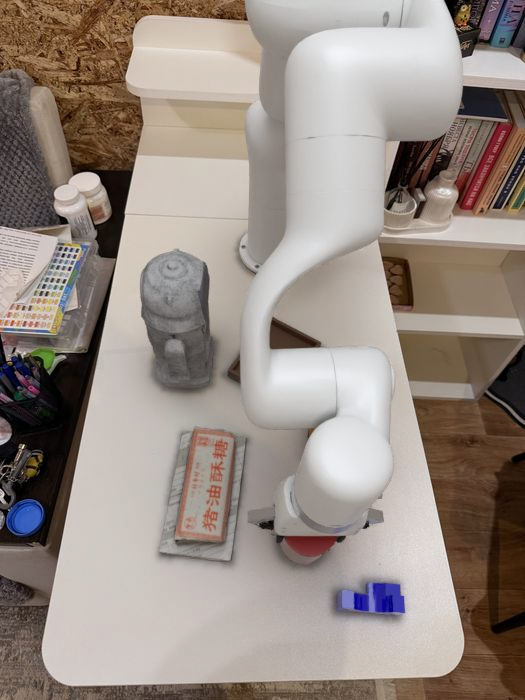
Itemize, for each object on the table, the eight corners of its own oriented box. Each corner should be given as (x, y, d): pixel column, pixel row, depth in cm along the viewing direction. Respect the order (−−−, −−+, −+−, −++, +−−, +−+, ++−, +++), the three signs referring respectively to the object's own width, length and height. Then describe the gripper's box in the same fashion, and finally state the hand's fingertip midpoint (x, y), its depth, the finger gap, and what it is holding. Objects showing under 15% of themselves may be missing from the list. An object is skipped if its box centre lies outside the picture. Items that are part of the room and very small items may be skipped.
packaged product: (180, 420, 76) (247, 428, 76) (183, 432, 80) (246, 440, 80) (154, 548, 66) (230, 557, 66) (159, 554, 71) (231, 562, 71)
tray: (267, 321, 92) (268, 314, 90) (319, 348, 89) (321, 342, 87) (227, 376, 85) (227, 370, 84) (282, 407, 83) (283, 401, 81)
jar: (293, 508, 75) (300, 490, 66) (332, 532, 73) (344, 516, 65) (271, 548, 72) (276, 534, 64) (311, 573, 70) (321, 562, 62)
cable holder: (395, 586, 70) (403, 583, 66) (396, 615, 68) (405, 613, 65) (337, 581, 70) (342, 577, 66) (336, 609, 68) (342, 607, 65)
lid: (297, 489, 68) (299, 485, 66) (346, 517, 66) (349, 514, 65) (271, 538, 65) (272, 535, 63) (322, 569, 63) (324, 566, 61)
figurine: (216, 327, 90) (210, 225, 69) (210, 399, 83) (201, 311, 62) (161, 324, 90) (137, 221, 69) (150, 397, 83) (120, 307, 61)
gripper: (407, 458, 54) (370, 501, 69) (243, 457, 53) (241, 501, 68) (419, 532, 50) (377, 560, 65) (242, 532, 49) (241, 561, 65)
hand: (308, 530), depth 67 cm, fingers closed on lid, 7 cm apart
